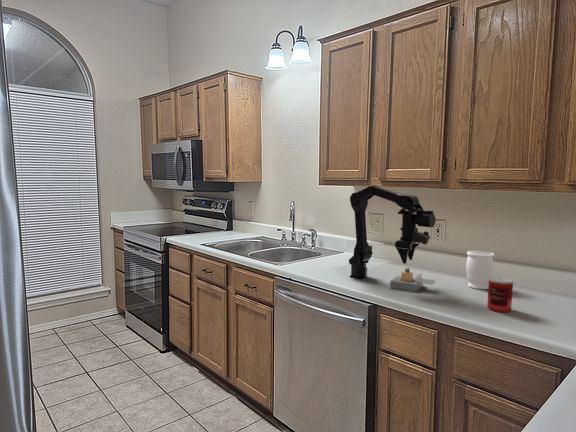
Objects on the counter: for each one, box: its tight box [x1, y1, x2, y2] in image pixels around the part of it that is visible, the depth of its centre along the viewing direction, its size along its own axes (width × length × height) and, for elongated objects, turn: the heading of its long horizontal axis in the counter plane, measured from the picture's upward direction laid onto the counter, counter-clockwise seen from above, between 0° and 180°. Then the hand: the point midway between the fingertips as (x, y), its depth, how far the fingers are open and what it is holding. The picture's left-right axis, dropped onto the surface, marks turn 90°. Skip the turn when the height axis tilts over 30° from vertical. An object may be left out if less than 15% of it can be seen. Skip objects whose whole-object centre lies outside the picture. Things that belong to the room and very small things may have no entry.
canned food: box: [486, 276, 514, 314], centre depth 144 cm, size 8×8×11 cm
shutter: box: [415, 273, 436, 286], centre depth 168 cm, size 6×6×3 cm
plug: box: [400, 267, 414, 282], centre depth 172 cm, size 4×3×8 cm
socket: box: [389, 275, 424, 293], centre depth 172 cm, size 11×11×3 cm
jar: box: [465, 250, 495, 290], centre depth 173 cm, size 11×10×15 cm
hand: (407, 261), depth 171 cm, fingers open, 9 cm apart
